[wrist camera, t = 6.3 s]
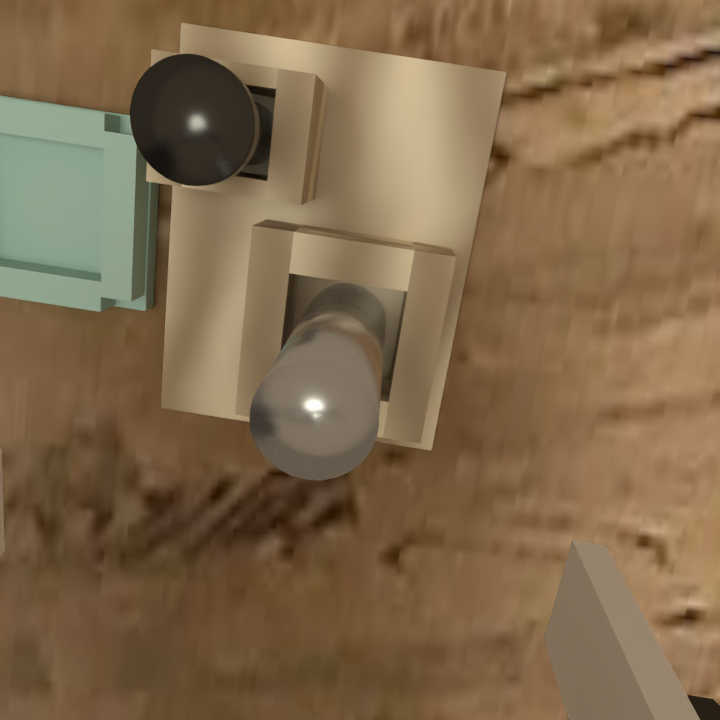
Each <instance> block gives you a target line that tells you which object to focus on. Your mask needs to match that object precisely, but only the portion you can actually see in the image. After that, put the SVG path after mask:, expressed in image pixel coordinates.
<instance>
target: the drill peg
mask: <svg viewBox="0 0 720 720" xmlns="http://www.w3.org/2000/svg"><path fill="white" fill-rule="evenodd" d="M385 326H386V320H385V313H384V310H383V308H382V305H381V303H380V302H379V300H378V299H377V298H376V297H375V295H373V294H372V293H371V292H370V291H369V290H367V289H365V288H364V287H362V286H359V285H356V284H351V283H339V284H334V285H331V286H329V287H327V288H325V289H323V290H322V291H320V292H319V293H318V294H317V295H316V296H315V297H314V299H313V300H312V301H311V303H310V305H309V306H308V308H307V309H306V311H305V313H304V314H303V316H302V318H301V319H300V321H299V322H298V324H297V326H296V327H295V329H294V331H293V332H292V334H291V335H290V337H289V339H288V340H287V342H286V343H285V345H284V347H283V348H282V350H281V352H280V353H279V355H278V356H277V358H276V360H275V361H274V363H273V365H272V366H271V368H270V369H269V371H268V373H267V374H266V376H265V377H264V379H263V381H262V382H261V384H260V386H259V387H258V389H257V391H256V393H255V395H254V397H253V400H252V403H251V408H250V428H251V432H252V436H253V438H254V441H255V443H256V445H257V447H258V448H259V450H260V451H261V453H262V454H263V455H264V457H265V458H266V459H267V460H268V461H269V462H270V463H272V464H273V465H274V466H275V467H277V468H278V469H280V470H281V471H283V472H285V473H287V474H289V475H292V476H295V477H298V478H302V479H307V480H327V479H332V478H336V477H339V476H342V475H344V474H346V473H348V472H350V471H352V470H353V469H355V468H356V467H357V466H359V465H360V464H361V463H362V462H363V461H364V460H365V459H366V457H367V456H368V455H369V453H370V452H371V450H372V448H373V446H374V444H375V441H376V438H377V434H378V426H379V412H380V398H381V383H382V369H383V354H384V340H385Z"/></svg>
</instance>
